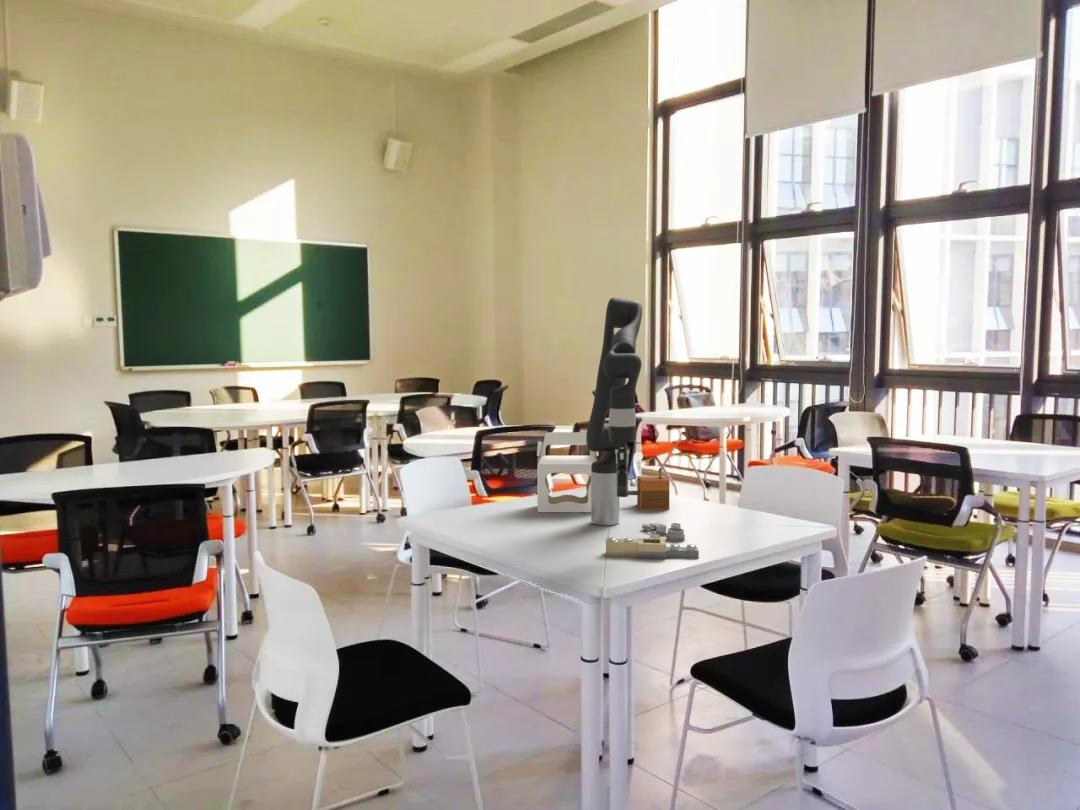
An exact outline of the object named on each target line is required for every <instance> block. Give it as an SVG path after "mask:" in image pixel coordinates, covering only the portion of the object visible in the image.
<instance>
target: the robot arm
mask: <svg viewBox="0 0 1080 810" xmlns="http://www.w3.org/2000/svg"><path fill="white" fill-rule="evenodd" d="M642 318H643V305H642V303H641V302H640V301H638V300H634V299H629V298H627V299H626V298H619V297H611V298H610V299H609V300H608V303H607V306H606V311H605V318H604V319H605V321H604V327H603V328H604V330H603V338H602V340H603V341H602V348H601V349H602V350H601V354H600V358H599V359H600V360H599V364H598V365H599V366H598V371H597V377H596V384H595V385H596V386H595V393H594V398H593V404H592V408H591V413H590V417H589V420H588V424H587V425H588V426H587V430H586V432H587V434H586V442H587V445H586V447H587V449H588V450H589V451H590V450H591V451H594V452H598V453H599V452H604V455H602V456H601V457H600V458H599V459H598V460H597V461H595V462H593V463H592V465H591V513H590V515H591V521H590V522H591V524H594V525H597V526H614V525H618V524H620V497H617V472H618V486H620V487H625V486H626V473H627V465H628V466H629V462H630V461H629V458H630V456H629V455H630V447H628V446H627V443H633V442H635V441H636V440H637V430H636V429H637V417H636V416H637V413H636V399H635V398H636V388H637V383H638V380H639V376H640V373H641V370H642V359H641V357H640V356H639V355H638V354H637V353H636V347H637V345H636V344H637V339H638V336H639V332H640V328H641V323H642ZM615 329H619V330H617V332H616V333H615ZM627 379H628V381H627V382H626V380H627ZM608 413H609V414H608ZM607 415H608V422H607V423H605V422H606V419H607ZM626 453H627V454H626ZM626 456H627V460H626ZM617 465H618V469H617ZM620 465H625V467H620Z"/></svg>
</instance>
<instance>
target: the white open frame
mask: <svg viewBox="0 0 1080 810" xmlns="http://www.w3.org/2000/svg"><path fill="white" fill-rule="evenodd" d="M586 434H587V431H586V432H585V431H584V432H581V431H579V432H576V431H575V432H574V431H572V432H571V431H570V432H569V431H566V432H565V431H564V432H563V431H562V432H561V431H560V432H559V431H558V432H557V431H556V432H555V431H553V432H552V431H551V432H550V431H549V432H545V434H544V439H543V440H542V441H541V440H538V441H537V449H536V456H537V457H538V458H537V464H536V465H537V467H536V468H537V469H536V471H537V473H536V474H537V480H536V481H537V484H536V485H537V492H536V493H537V498H536V499H537V507H536V508H537V511H538V512H591V465H592V463H593V462H595V461H597V460H599V459H598V457H599V452H594V451H591V450H589V455H546V449H547V446H587V442H586ZM550 474H563V475H572V476H573V475H581V474H582V475H588V479H587V482H586V485H585V489H586V495H584V496H581V497H580V496H576V495H573V494H561V495H558V496H550V494H549V489H550V485H549V482H548V479H547V476H548V475H550ZM538 512H537V513H538Z"/></svg>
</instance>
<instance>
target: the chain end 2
mask: <svg viewBox="0 0 1080 810" xmlns="http://www.w3.org/2000/svg"><path fill="white" fill-rule="evenodd" d="M699 554H700V551H699V548H698V546H697V545H696V544H692V543H691V544H686V546H681V545H680V544H678V543H673V544H670V546H666V552H650V551H638V557H637V558H638V559H648V560H649V559H650V560H651V559H652V560H654V559H655V560H666V559H667V558H675V559H676V558H678V559H679V558H682V559H685V558H684V557H688V558H687V559H690V558H689V557H694V558H693V559H699Z"/></svg>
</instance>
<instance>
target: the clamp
mask: <svg viewBox="0 0 1080 810" xmlns="http://www.w3.org/2000/svg"><path fill="white" fill-rule="evenodd" d="M662 470H663V469H662V468H658V473H659V475H637V476H636V478H637V479H636V481H637V483H636V484H637V485H636V490H628V496H637V499H636V504H637V506H638V508H639V509H640V510H641V511H670V479H669V478H668V477H667V476H666V475H662Z"/></svg>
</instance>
